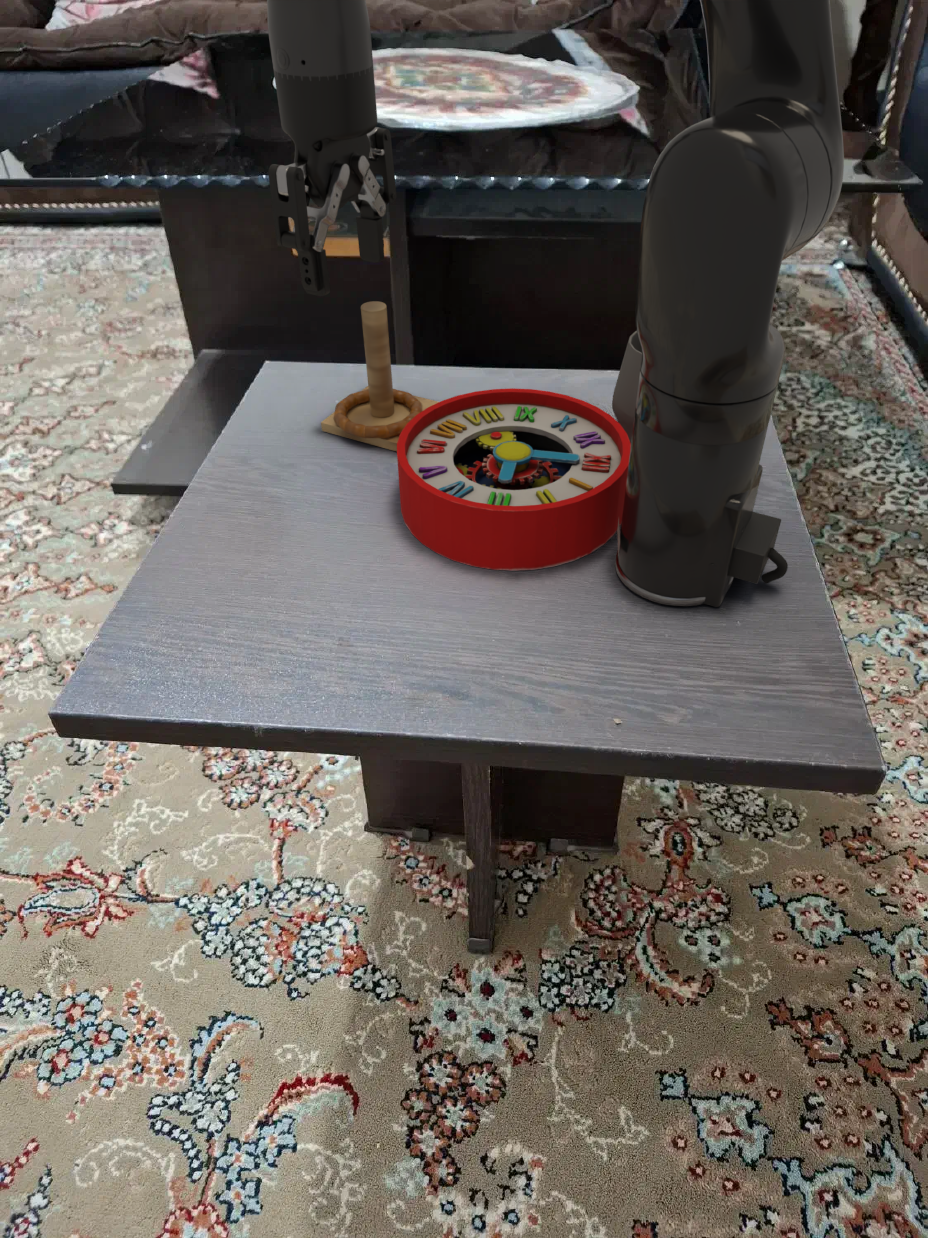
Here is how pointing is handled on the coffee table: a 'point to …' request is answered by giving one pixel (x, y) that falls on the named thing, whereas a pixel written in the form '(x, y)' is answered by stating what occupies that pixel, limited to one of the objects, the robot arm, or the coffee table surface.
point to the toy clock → (513, 478)
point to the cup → (628, 385)
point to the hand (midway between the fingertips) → (346, 276)
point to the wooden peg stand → (376, 382)
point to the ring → (374, 431)
